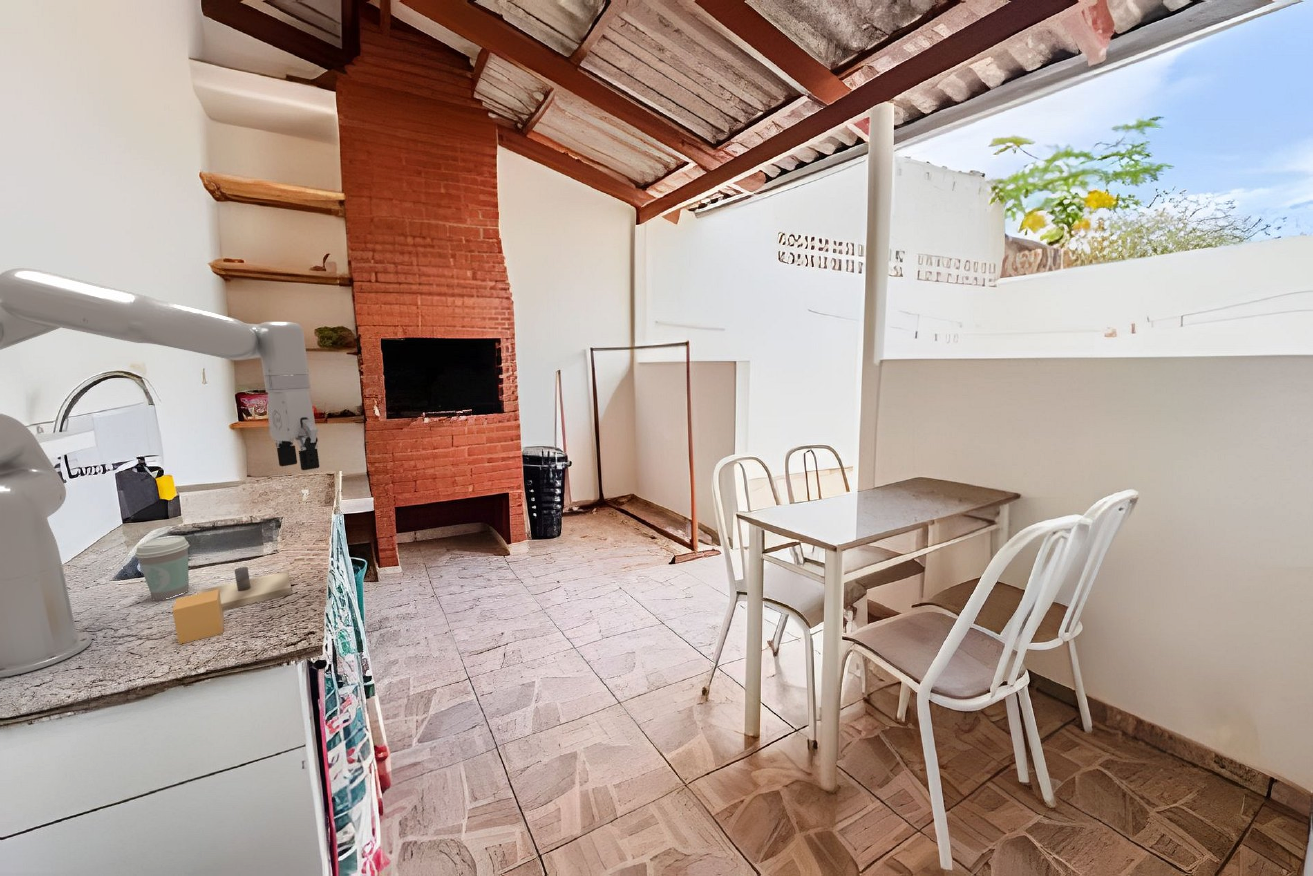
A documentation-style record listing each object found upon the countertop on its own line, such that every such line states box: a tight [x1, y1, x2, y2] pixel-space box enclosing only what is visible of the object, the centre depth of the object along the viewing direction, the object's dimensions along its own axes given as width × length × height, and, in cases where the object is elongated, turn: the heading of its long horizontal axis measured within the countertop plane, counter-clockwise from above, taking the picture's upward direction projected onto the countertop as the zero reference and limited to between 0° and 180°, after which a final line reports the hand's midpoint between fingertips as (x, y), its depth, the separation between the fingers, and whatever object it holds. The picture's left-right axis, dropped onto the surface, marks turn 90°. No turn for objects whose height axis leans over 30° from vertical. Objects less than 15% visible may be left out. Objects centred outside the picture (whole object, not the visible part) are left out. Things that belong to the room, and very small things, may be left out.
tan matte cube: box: [172, 589, 225, 645], centre depth 96 cm, size 6×6×6 cm
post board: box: [196, 566, 293, 611], centre depth 111 cm, size 16×12×6 cm
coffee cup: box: [134, 535, 190, 601], centre depth 113 cm, size 8×8×12 cm
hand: (299, 467), depth 108 cm, fingers open, 9 cm apart
